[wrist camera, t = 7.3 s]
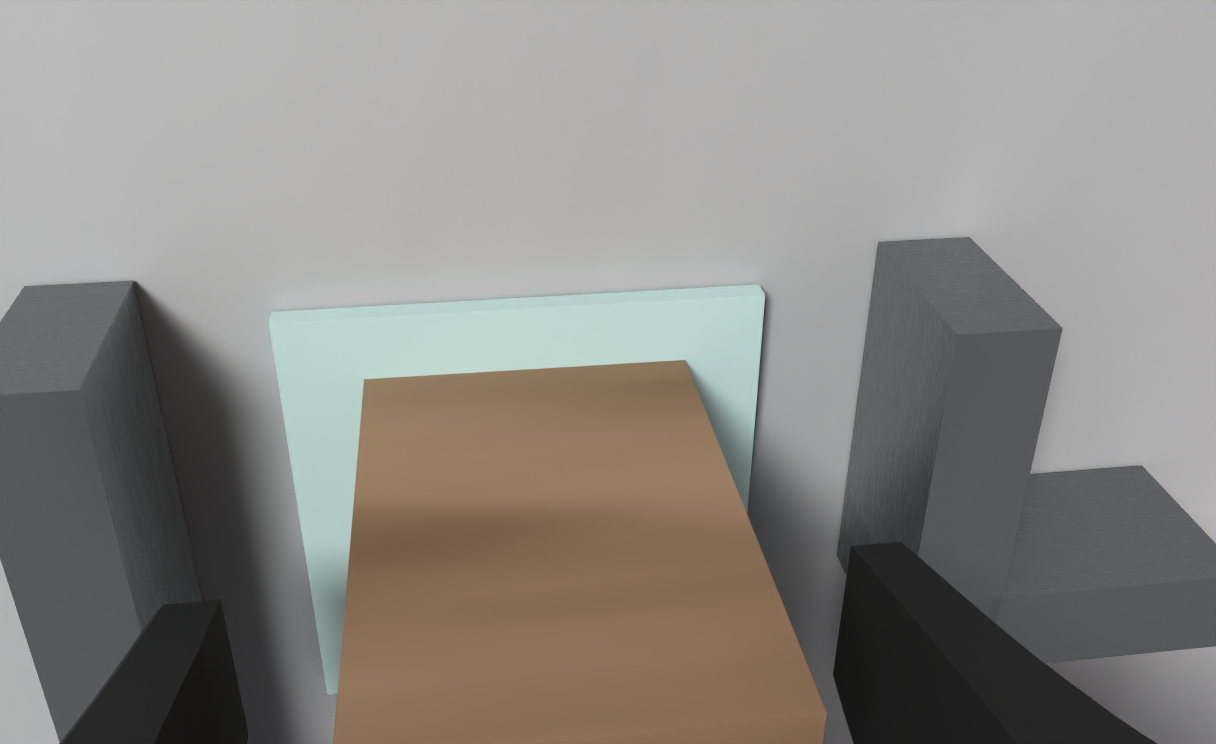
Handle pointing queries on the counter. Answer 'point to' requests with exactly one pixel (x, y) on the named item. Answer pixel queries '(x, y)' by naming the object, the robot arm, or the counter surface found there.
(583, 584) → the walnut block
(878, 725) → the robot arm
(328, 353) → the pad
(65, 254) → the counter surface
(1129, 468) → the grey flat frame
